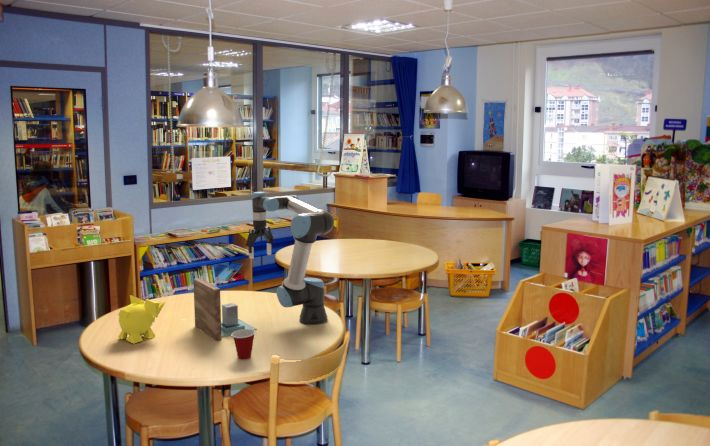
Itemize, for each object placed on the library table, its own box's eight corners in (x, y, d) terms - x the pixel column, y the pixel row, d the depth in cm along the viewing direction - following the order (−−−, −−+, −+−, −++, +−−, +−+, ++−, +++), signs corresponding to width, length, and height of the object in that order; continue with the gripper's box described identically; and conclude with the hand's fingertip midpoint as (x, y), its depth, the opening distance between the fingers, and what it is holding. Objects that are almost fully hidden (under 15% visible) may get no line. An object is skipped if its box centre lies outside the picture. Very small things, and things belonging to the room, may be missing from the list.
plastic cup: (233, 353, 286) (232, 328, 284) (256, 352, 287) (256, 328, 285) (230, 362, 276) (229, 336, 274) (254, 361, 277) (254, 336, 275)
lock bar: (233, 324, 325) (232, 302, 323) (238, 327, 320) (237, 305, 318) (222, 326, 321) (221, 304, 319) (227, 330, 317) (226, 307, 315)
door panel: (201, 325, 325) (199, 277, 320) (222, 339, 304) (221, 288, 300) (195, 326, 323) (193, 278, 318) (215, 340, 302) (214, 289, 298)
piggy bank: (167, 335, 310) (166, 298, 307) (135, 346, 293) (133, 307, 290) (141, 327, 320) (139, 291, 317) (109, 338, 304) (106, 300, 301)
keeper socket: (239, 319, 335) (239, 316, 334) (256, 329, 319) (256, 326, 318) (204, 326, 323) (204, 323, 322) (220, 337, 307) (220, 333, 307)
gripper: (270, 216, 356) (271, 252, 359) (238, 221, 336) (239, 259, 339) (280, 217, 351) (280, 253, 355) (247, 222, 332) (248, 261, 335)
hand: (260, 256), depth 347 cm, fingers open, 13 cm apart
